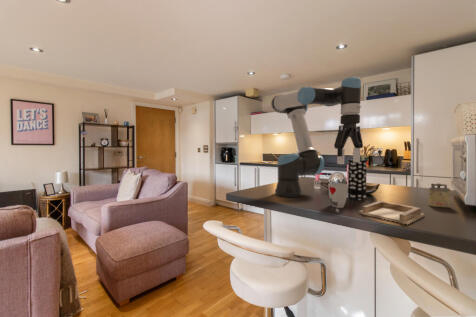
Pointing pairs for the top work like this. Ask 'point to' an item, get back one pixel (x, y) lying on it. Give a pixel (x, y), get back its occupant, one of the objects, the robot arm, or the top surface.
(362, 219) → the top surface
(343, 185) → the cup
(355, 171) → the spotted tube
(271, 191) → the top surface
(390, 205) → the rest
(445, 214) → the top surface
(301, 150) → the robot arm
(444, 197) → the olive box with handle
